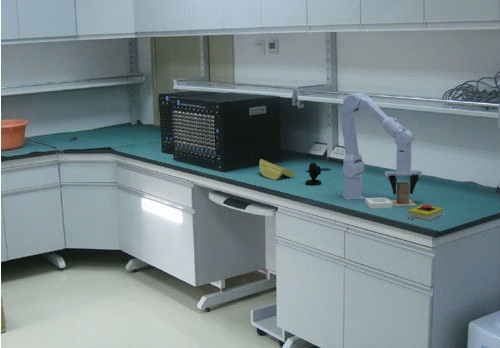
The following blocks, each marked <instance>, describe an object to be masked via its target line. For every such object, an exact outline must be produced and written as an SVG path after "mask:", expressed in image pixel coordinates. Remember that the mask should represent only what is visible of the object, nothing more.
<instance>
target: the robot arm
mask: <svg viewBox="0 0 500 348" xmlns="http://www.w3.org/2000/svg"><path fill="white" fill-rule="evenodd" d="M359 111H367V112H368V113H370V114H371V115H372V117H374V118H375V119H376V120H378V121H379V122H380V123H381V126H382V129H383V130H384V131H385V132H387V133H388V134H389V135H390V137H392V138H393V139H394V143H395V144H396V161H395V162H396V168H395V170H390V171H384V177H385V178H387V179H388V180H389V183H390V184H391V190H392V194H393V195H396V196H397V181H398V179H397V177H409V195H410V194H411V195H413V194H414V190H415V188H416V185H417V183H418V181H419V179H420V177H422V176H423V171H422V170H413V169H412V143H413V142H414V140H415V137H414V133H413V132H412V130H410V129H407V128H406V127H405V126H402V125H401V124H400V123H399V122H398V119H397V117H393V116H388V115H387V114H386V113H385V112H384V111H383V110H382V109H381V108H380V107H379V106H378V105H377V104H376V103H375V102H374V100H373V99H372V98H371V97H370V96H369V95H367V94H366V93H365V92H363V91H359V92H356V93H355V92H354V93H349V94H348V95H346V96H345V98H344V99H343V104H342V106H341V110H340V113H339V114H340V115H339V116H340V121H341V129H342V131H341V132H342V137H343V143H344V145H343V146H344V152H345V156H344V159H343V162H342V163H343V166H342V173H343V175H344V185H343V186H344V187H343V188H344V189H343V191H344V193H341V195H342V196H343V197H344V199H346V200H360V199H365V198H366V197H365V196H364V195H363V173H364V172H365V170H366V164H365V163H364V161H363V157H362V155H361V154H360V153H359V145H358V140H357V139H358V137H357V132H356V124H355V115H357V113H358V112H359Z"/></svg>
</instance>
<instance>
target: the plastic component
mask: <svg viewBox="0 0 500 348" xmlns="http://www.w3.org/2000/svg"><path fill="white" fill-rule="evenodd" d="M258 163H259V165H258V167H259V168H258V169H259V171H260V173H261V175H263V176H264V177H265V178H268V179H271V180H273V181H277V180H279V179H280V178H281V176H283V175H284V176H286V177H288V178H291V179H292V178H293V177H294V175H295V171H292V170H290V169H288V168H286V167H282V166H279V165H278V164H275V163H271V162H269V161H268V160H265V159H263V158H261V159H259V162H258Z"/></svg>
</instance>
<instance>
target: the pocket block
mask: <svg viewBox="0 0 500 348" xmlns="http://www.w3.org/2000/svg"><path fill="white" fill-rule="evenodd" d="M364 198H365V200H364V203H365V205H366V206H367V207H368V208H369V209H393V207H394V205H393V203H392V202H391V201H390V200H391V199H389V198H388V197H364Z"/></svg>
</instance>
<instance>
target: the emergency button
mask: <svg viewBox="0 0 500 348" xmlns="http://www.w3.org/2000/svg"><path fill="white" fill-rule="evenodd" d="M440 216H446V213H444V208H443V207H437V206H433V205H431V204H421V205H418V206H416V207H412V208H410V209H408V211H407V218H408V217H409V218H408V219H407V220H409V219H410V218H413V219H414V218H415V219H416V220H425V221H429V222H431V221H433V219H434V220H436V219H438V218H440ZM430 220H431V221H430Z"/></svg>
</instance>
